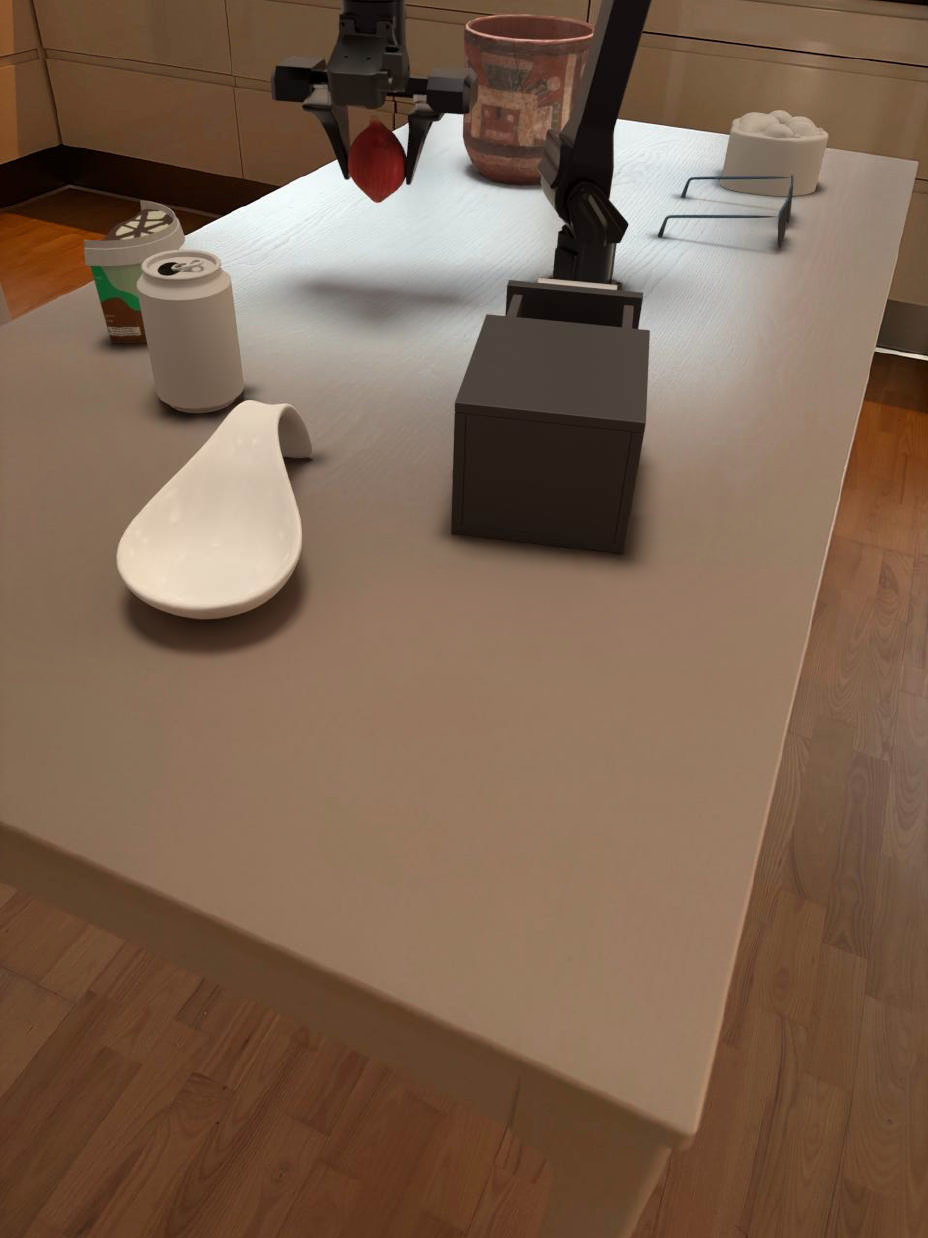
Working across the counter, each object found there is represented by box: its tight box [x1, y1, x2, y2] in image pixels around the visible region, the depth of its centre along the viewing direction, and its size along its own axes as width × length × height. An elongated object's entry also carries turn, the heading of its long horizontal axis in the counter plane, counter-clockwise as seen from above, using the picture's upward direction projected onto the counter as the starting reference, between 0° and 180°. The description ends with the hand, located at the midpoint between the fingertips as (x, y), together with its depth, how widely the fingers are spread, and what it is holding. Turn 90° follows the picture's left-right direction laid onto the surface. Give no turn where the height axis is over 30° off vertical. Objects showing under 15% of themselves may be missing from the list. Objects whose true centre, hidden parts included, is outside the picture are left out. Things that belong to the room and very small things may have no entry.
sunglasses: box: [657, 175, 794, 249], centre depth 125 cm, size 17×15×5 cm
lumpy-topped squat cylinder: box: [719, 109, 829, 197], centre depth 137 cm, size 10×13×9 cm
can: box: [137, 248, 245, 414], centre depth 83 cm, size 8×8×12 cm
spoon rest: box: [115, 399, 313, 620], centre depth 69 cm, size 24×12×7 cm, turn 174°
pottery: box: [462, 14, 595, 186], centre depth 134 cm, size 18×18×18 cm
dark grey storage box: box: [450, 314, 651, 555], centre depth 74 cm, size 15×13×11 cm
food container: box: [83, 199, 186, 344], centre depth 94 cm, size 12×6×10 cm, turn 168°
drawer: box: [504, 277, 644, 329], centre depth 83 cm, size 18×11×9 cm, turn 171°
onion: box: [348, 114, 407, 204], centre depth 97 cm, size 6×6×8 cm
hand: (378, 181), depth 98 cm, fingers closed on onion, 6 cm apart
